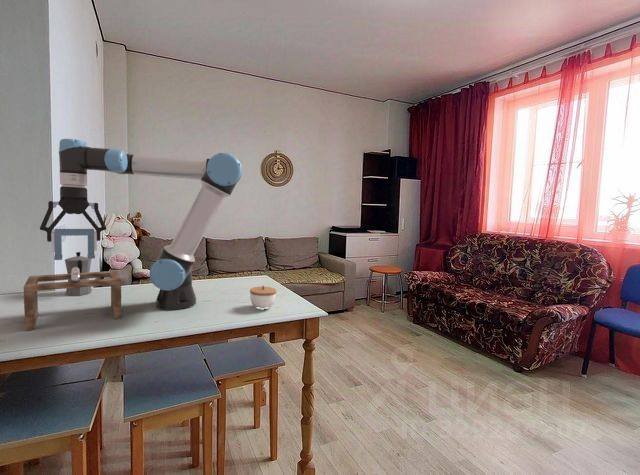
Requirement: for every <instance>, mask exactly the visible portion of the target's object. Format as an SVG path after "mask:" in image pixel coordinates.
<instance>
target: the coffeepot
mask: <svg viewBox="0 0 640 475" xmlns="http://www.w3.org/2000/svg"><path fill="white" fill-rule="evenodd" d="M81 253H82V252H80V251H77V252H75V255H76V256H72V257H67V258H66V259H64V263H65V267H66V274H71V271H72V268H74V267H78V268H79V269H80V273H88V272H90V271H91V264H92V259H88V256H83V255H82V256H81ZM83 280H90V278H87V279H80V281H83ZM70 281H71V280H67V282H70ZM92 292H93V289H92V287H80V288H67V289H66V290H65V295H66V296H69V297H77V296H78V297H80V296H86V295H90V294H91V293H92Z"/></svg>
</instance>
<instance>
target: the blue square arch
mask: <svg viewBox="0 0 640 475" xmlns="http://www.w3.org/2000/svg"><path fill="white" fill-rule="evenodd" d="M94 231H95V228H53V232H54V246H55V252H54V257H53V259H54V261H62V260H63V253H62V252H63V251H62V250H63V249H62V248H63V245H62V243H63V242H62V237H63V236H65V237H66V236H67V237H69V236H70V237H71V236H87V257H88V259H91V260H92V259H94V260H95V259H96V255H95V251H94Z"/></svg>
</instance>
